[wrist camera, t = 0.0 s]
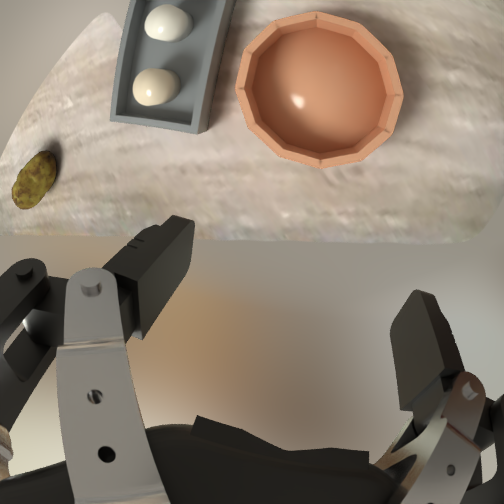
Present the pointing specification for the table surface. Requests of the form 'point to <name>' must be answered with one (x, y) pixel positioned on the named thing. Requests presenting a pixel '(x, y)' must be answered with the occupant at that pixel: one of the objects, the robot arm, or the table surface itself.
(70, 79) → the table surface
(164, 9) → the pebble
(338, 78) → the bowl
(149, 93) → the pebble
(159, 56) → the tray
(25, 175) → the potato
